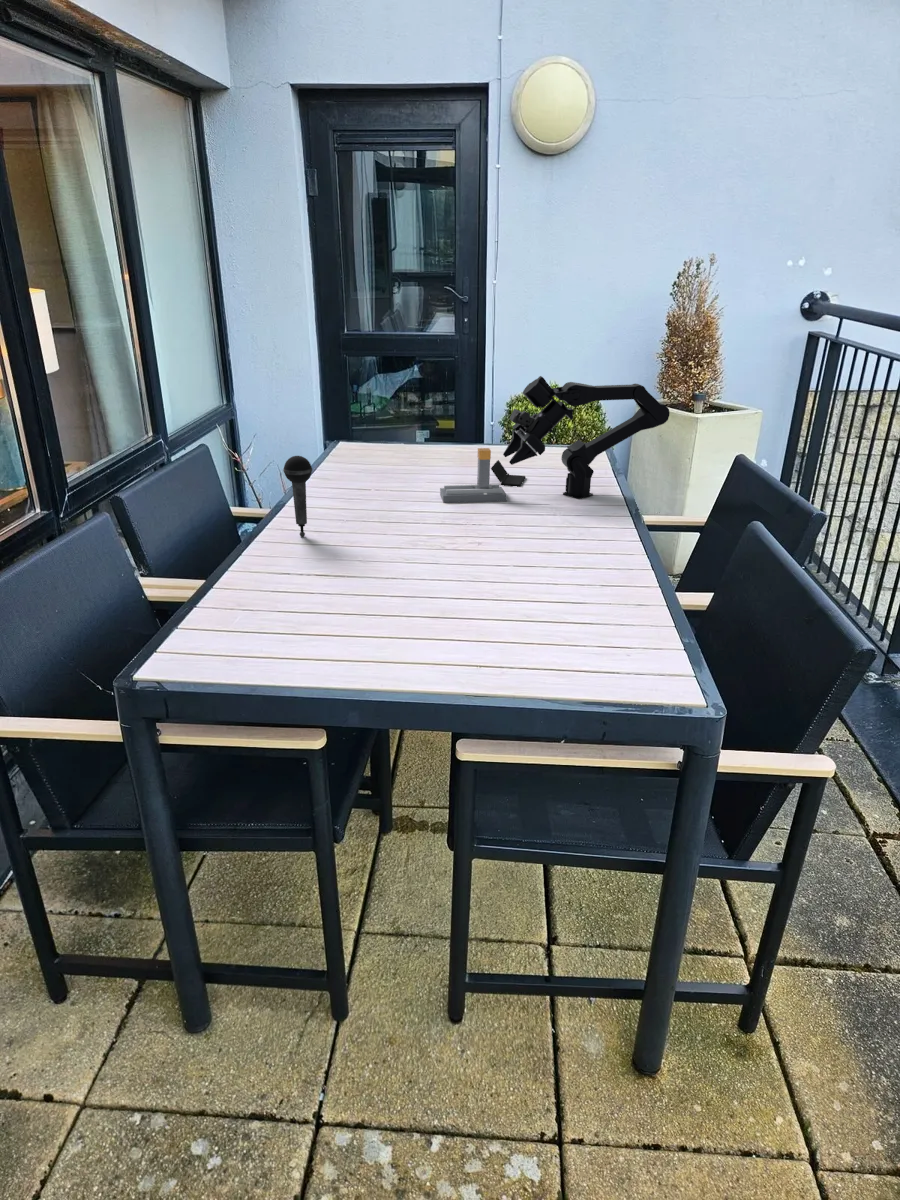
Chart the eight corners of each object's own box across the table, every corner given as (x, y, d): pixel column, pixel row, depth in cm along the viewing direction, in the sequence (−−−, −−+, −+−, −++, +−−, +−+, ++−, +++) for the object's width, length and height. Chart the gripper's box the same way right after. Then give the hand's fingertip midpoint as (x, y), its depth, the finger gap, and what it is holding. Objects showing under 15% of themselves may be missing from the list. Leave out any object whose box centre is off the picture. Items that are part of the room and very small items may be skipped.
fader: (490, 489, 227) (492, 448, 222) (492, 491, 224) (493, 450, 220) (473, 489, 227) (474, 448, 222) (475, 492, 224) (476, 450, 219)
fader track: (501, 493, 231) (501, 482, 229) (506, 501, 223) (506, 490, 222) (440, 495, 228) (440, 484, 227) (443, 502, 221) (443, 491, 220)
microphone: (310, 542, 189) (305, 460, 181) (283, 540, 191) (277, 458, 183) (320, 533, 196) (315, 453, 188) (294, 531, 197) (288, 452, 189)
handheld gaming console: (527, 482, 237) (507, 455, 235) (507, 496, 239) (488, 469, 237) (527, 478, 248) (508, 452, 246) (508, 491, 250) (489, 465, 248)
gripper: (521, 393, 225) (482, 433, 228) (535, 404, 208) (493, 447, 211) (546, 420, 229) (508, 459, 232) (562, 433, 212) (521, 475, 215)
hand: (507, 459), depth 223 cm, fingers open, 9 cm apart
